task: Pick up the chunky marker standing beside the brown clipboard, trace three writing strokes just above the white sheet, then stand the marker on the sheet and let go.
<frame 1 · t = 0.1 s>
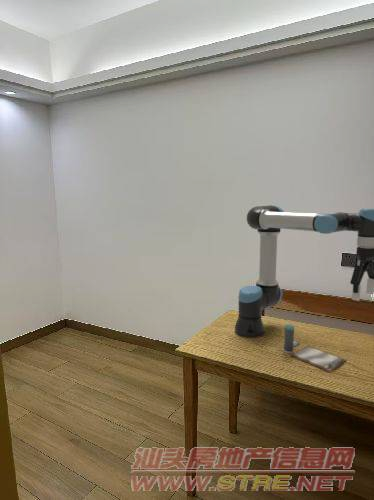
hand: (363, 296, 140), 28 cm above the table, fingers open, 13 cm apart
word card: (292, 344, 158), on the table
clipboard: (317, 358, 144), on the table
marker: (288, 351, 151), on the table
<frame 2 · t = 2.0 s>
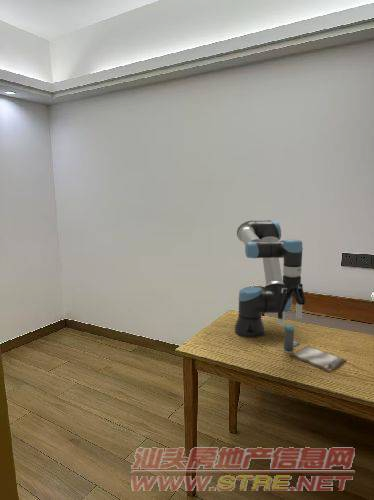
hand: (290, 321, 148), 14 cm above the table, fingers open, 13 cm apart
nothing on the table moved.
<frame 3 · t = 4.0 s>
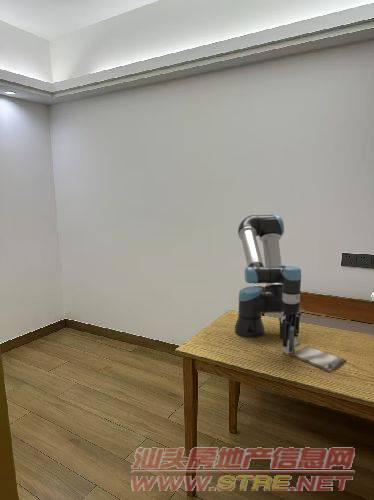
hand: (288, 351, 151), 0 cm above the table, fingers closed on marker, 4 cm apart
marker: (288, 351, 151), on the table, touching gripper
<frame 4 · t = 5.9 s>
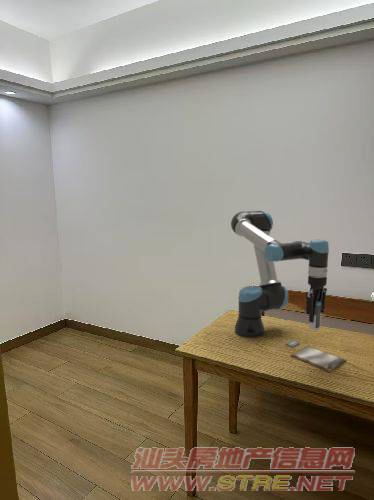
hand: (314, 327, 147), 12 cm above the table, fingers closed on marker, 4 cm apart
marker: (314, 328, 147), point 12 cm above the table, touching gripper
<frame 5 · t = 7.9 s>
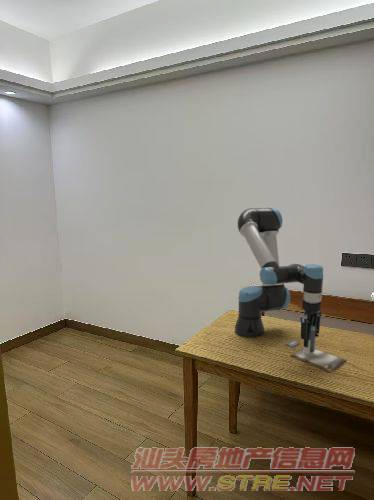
hand: (309, 351, 147), 2 cm above the table, fingers closed on marker, 4 cm apart
marker: (309, 352, 147), point 1 cm above the table, touching gripper
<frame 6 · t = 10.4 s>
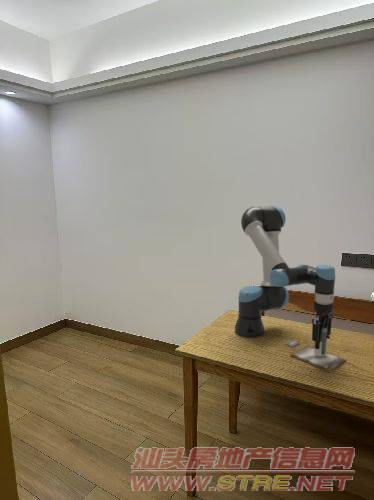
hand: (320, 353, 145), 2 cm above the table, fingers closed on marker, 4 cm apart
marker: (320, 354, 145), point 1 cm above the table, touching gripper
when the fingers open (1 cm above the table, at t = 12.0 s): marker stays where it is, resting on clipboard.
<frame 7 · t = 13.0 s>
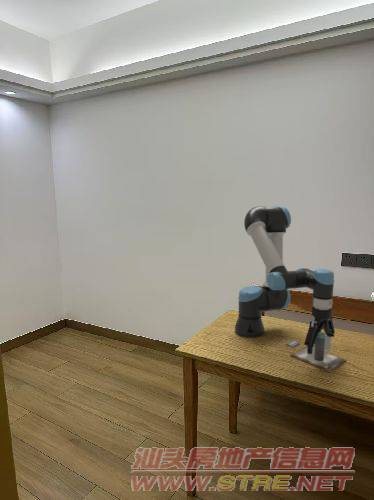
hand: (319, 355, 140), 3 cm above the table, fingers open, 13 cm apart
marker: (318, 360, 141), point 1 cm above the table, touching clipboard
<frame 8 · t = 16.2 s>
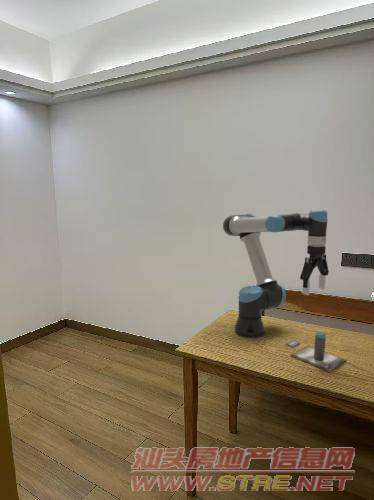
hand: (313, 291, 151), 27 cm above the table, fingers open, 13 cm apart
nothing on the table moved.
at the end: marker inside the target area on the clipboard (3.6 cm from its centre), point 0.8 cm above the clipboard's base; marker tilted 1°; the gripper is holding nothing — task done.
